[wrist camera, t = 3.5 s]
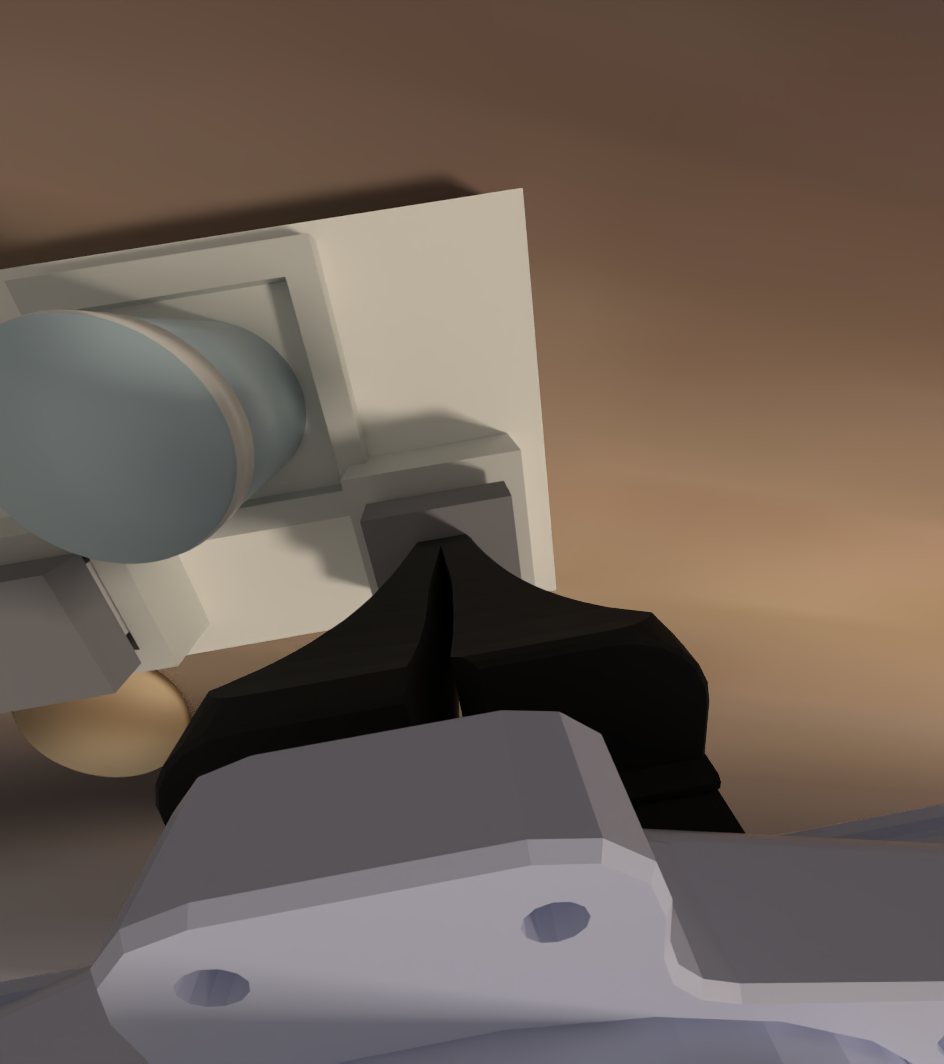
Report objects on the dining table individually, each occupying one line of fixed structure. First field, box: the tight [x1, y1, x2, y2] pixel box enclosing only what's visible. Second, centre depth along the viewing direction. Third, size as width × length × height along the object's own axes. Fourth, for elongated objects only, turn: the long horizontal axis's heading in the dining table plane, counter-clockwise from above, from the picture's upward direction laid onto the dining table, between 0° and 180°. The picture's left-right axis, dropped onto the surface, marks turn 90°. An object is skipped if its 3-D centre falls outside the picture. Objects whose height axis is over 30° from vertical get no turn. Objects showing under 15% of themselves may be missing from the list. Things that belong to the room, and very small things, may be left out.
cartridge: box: [0, 309, 306, 564], centre depth 10 cm, size 4×4×6 cm
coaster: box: [13, 670, 191, 777], centre depth 19 cm, size 6×6×1 cm
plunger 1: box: [0, 553, 141, 714], centre depth 13 cm, size 4×4×3 cm
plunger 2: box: [360, 481, 521, 589], centre depth 13 cm, size 4×4×3 cm
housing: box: [0, 188, 556, 674], centre depth 14 cm, size 12×19×4 cm, turn 98°
